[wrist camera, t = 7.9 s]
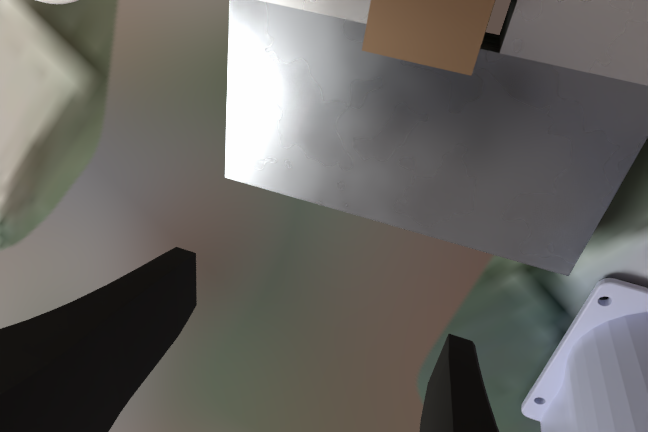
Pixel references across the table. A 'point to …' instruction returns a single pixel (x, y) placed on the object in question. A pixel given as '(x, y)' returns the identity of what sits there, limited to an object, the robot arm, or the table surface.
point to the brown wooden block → (428, 31)
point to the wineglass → (57, 1)
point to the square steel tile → (445, 121)
